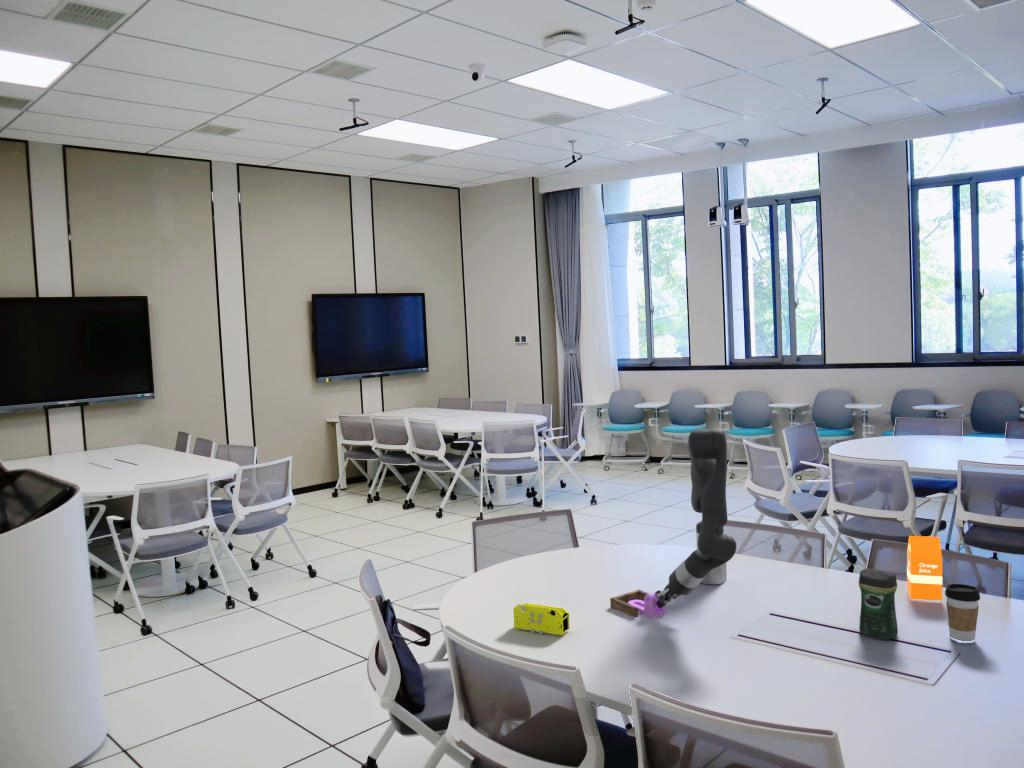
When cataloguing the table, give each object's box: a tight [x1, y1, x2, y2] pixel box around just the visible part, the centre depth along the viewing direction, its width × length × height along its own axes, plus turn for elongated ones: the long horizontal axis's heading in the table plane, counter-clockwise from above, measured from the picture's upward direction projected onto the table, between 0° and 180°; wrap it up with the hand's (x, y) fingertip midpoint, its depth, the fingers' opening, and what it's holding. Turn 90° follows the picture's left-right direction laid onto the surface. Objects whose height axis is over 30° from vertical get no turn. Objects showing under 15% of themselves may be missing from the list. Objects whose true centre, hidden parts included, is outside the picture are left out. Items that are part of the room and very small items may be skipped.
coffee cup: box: [944, 583, 981, 641], centre depth 212 cm, size 8×8×15 cm
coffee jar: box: [858, 567, 899, 641], centre depth 218 cm, size 10×8×19 cm
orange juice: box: [906, 535, 943, 601], centre depth 244 cm, size 8×9×20 cm
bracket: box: [628, 590, 667, 619], centre depth 244 cm, size 13×6×7 cm, turn 34°
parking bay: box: [609, 589, 650, 618], centre depth 246 cm, size 12×12×3 cm
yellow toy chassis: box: [512, 602, 570, 636], centre depth 231 cm, size 16×6×8 cm, turn 63°
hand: (659, 605), depth 238 cm, fingers closed
